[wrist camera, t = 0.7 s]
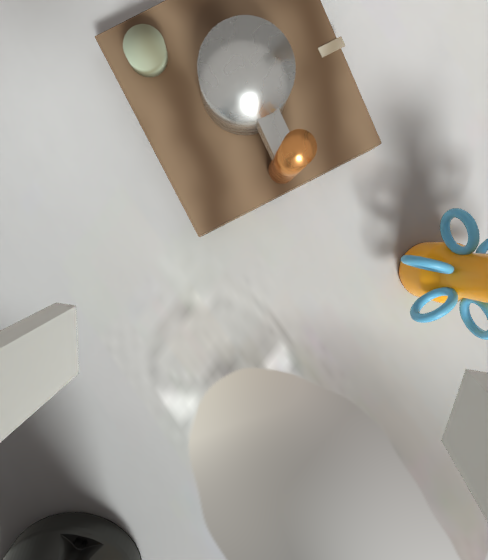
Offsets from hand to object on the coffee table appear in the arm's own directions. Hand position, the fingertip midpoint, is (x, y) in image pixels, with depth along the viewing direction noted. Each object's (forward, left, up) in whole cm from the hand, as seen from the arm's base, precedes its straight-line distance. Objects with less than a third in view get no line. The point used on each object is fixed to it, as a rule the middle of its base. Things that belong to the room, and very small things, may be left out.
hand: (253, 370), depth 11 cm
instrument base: (+9, +16, -24) cm, 30 cm away
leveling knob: (+9, +13, -22) cm, 27 cm away
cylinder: (+19, -8, -24) cm, 32 cm away
